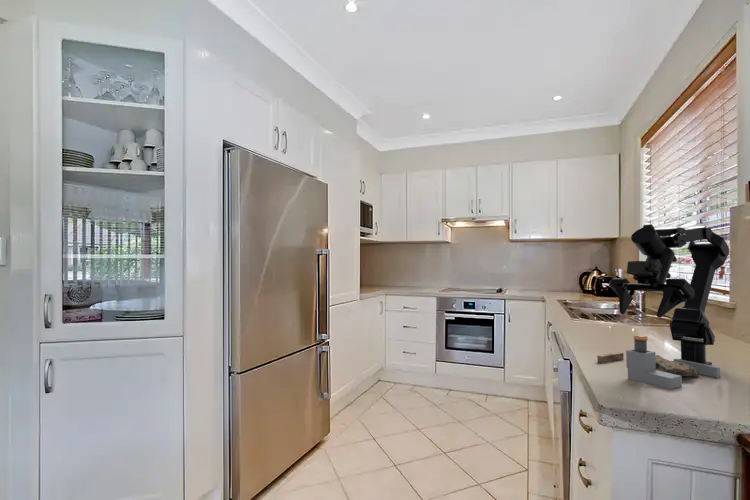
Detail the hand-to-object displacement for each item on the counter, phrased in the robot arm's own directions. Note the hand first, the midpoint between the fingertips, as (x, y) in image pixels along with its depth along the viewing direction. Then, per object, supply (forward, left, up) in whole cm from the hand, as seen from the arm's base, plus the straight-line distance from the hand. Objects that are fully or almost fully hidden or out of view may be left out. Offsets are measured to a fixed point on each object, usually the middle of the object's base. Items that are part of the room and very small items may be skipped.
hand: (639, 315), depth 102 cm
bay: (-7, +4, -16) cm, 18 cm away
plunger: (+2, +1, -11) cm, 11 cm away
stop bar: (-9, -14, -16) cm, 23 cm away
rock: (-9, +2, -16) cm, 19 cm away
